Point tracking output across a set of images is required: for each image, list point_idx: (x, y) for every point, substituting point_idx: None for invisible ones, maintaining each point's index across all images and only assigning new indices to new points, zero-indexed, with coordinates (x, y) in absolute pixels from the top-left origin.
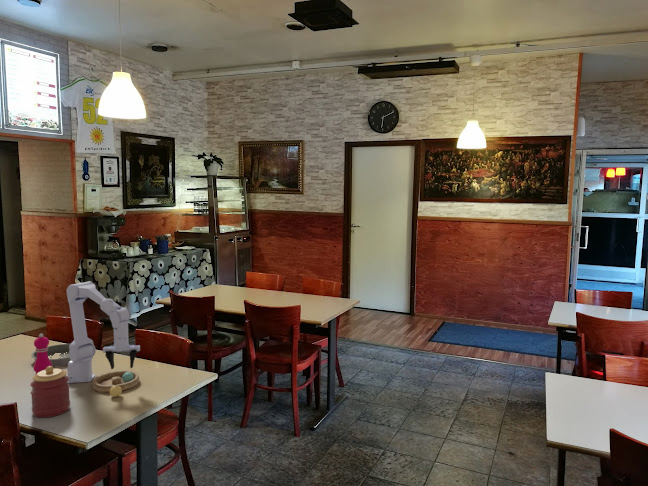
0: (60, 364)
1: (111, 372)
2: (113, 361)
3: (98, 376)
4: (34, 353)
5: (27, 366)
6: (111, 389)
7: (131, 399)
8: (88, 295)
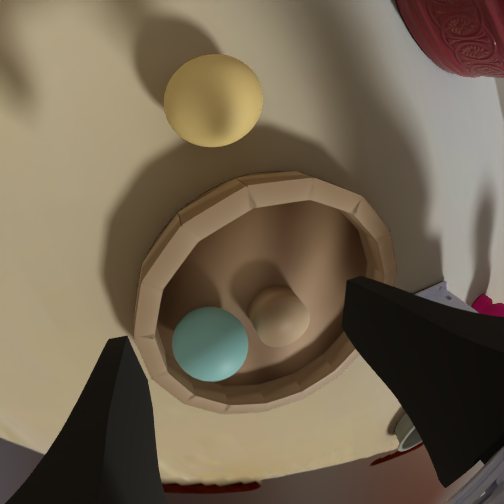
0: None
1: (326, 378)
2: (388, 369)
3: None
4: None
5: None
6: (245, 66)
7: (75, 61)
8: None
